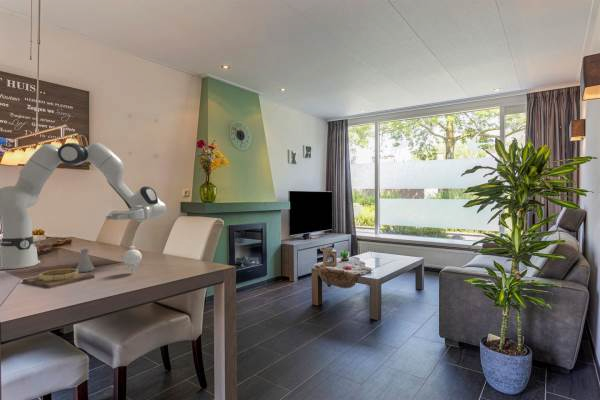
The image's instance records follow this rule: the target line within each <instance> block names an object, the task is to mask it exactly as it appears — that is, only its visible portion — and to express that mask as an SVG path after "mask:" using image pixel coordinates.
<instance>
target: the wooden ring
mask: <svg viewBox="0 0 600 400" xmlns="http://www.w3.org/2000/svg"><path fill="white" fill-rule="evenodd" d="M79 273H80V272H79V271H78V269H76V268H61V269H59V268H58V269H50V270H47V271H43V272H40V273H39V274H38V276H39V281H60V280H66V279H71V278H75V277H77V276H79ZM59 274H64V275H59ZM52 275H55V276H52Z"/></svg>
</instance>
